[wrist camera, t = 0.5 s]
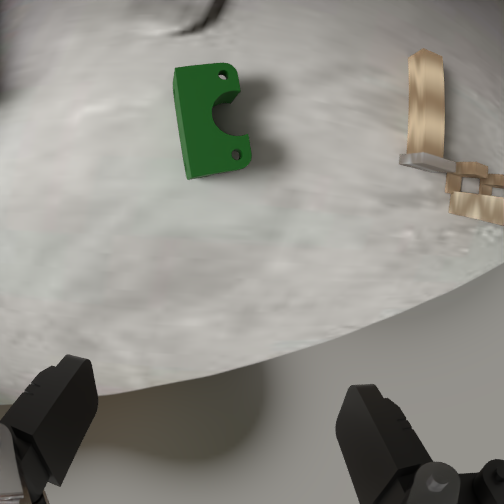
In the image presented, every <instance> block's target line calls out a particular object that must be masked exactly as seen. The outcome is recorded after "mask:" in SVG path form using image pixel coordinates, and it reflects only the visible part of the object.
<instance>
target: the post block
mask: <svg viewBox="0 0 504 504" xmlns="http://www.w3.org/2000/svg"><path fill="white" fill-rule="evenodd" d="M462 177H470V178H480V185H479V194H473V193H465V192H460V189H461V179H462ZM492 187H495V188H504V175H500V174H488V166H485V165H483V164H480V163H477V162H456V173H451V172H447V176H446V186H445V192H446V193H450V194H451V197H450V205H449V213H452V214H456V215H461V216H465V217H470V218H474V219H478V220H482V221H486V222H490V223H494V224H498V225H502V226H504V198H502V197H495V196H491V193H492Z"/></svg>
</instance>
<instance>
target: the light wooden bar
mask: <svg viewBox="0 0 504 504" xmlns="http://www.w3.org/2000/svg"><path fill="white" fill-rule="evenodd" d="M408 62H409V120H408V141H407V154H402V155H400V158H399V164H400V165H404V166H408V167H413V168H416V169H420V170H424V171H428V172H451V173H456V162H453V161H450V160H447V159H444V158H443V151H444V123H445V101H444V74H443V60H442V56H440V55H438V54H435V53H433V52H431V51H428V50H426V49H424V48H423V49H421V50H420V51H418V52H417V53H415V54H413V55H412V56H410V57H409V58H408Z"/></svg>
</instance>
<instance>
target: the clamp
mask: <svg viewBox="0 0 504 504" xmlns="http://www.w3.org/2000/svg"><path fill="white" fill-rule="evenodd" d="M218 75H224V76H225V77H226V80H222V79H220V78H219V76H218ZM240 91H241V90H240V85H239V79H238V73H237V71H236V69H235V68H234V67H233V66H232V65H230V64H228V63H213V64H203V65H193V66H185V67H178V68H175V72H174V79H173V94H174V102H175V109H176V116H177V122H178V129H179V136H180V142H181V148H182V154H183V160H184V166H185V172H186V176H187V179H188V180H190V179H195V178H201V177H206V176H209V175H212V174H217V173H223V172H229V171H235V170H239V169H243V168H245V167H246V166H247V165H248V164H249V163H250V161H251V157H252V154H251V148H250V142H249V136H248V134H246V135H242V136H232V135H228V134H226V133H224V132H222V131H221V130H220V129H219V128H218V127H217V126H216V124H215V123H214V121H213V118H212V108H213V107H214V106H216V105H218V104H222V103H231V102H232V101H233V100H234V99H235V97H236V96H237V95H238V94H239V93H240ZM232 151H237V152H238V153H239V159H238V160H235V159H233V158H232V155H231V154H232Z"/></svg>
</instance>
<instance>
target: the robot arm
mask: <svg viewBox="0 0 504 504" xmlns="http://www.w3.org/2000/svg"><path fill="white" fill-rule="evenodd" d="M97 408H98V394H97V390H96V385H95V379H94V374H93V368H92V364H91V361H90V360H89V359H85V358H81V357H77V356H73V355H69V354H68V355H66V356H65V357H64V358H63V359H62V360H61V361H60V362H59V364H58V365H57V366H56V367H55V366H50V367H49V368H47V369H45V370H43V371H42V372H40V373H39V374H38V375H37V376H36V377H35V378H34V380H33V381H32V382H31V385H30V384H29V386H28V387H27V388H26V389H25V392H24V393H22V394H21V395H20V396H19V398H18V399H17V400H16V401H15V403H14V404H13V405H12V406H11V408H10V409H9V410H8V412H7V413H6V414H5V416H4V417H3V418H2V419H1V420H0V504H50V503H49V500H48V498H47V495H46V492H45V490H44V488H45V486H46V483H47V482H50V483H52V484H54V485H57V486H59V487H60V486H61V484H62V482H63V480H64V478H65V476H66V474H67V471H68V469H69V467H70V465H71V463H72V461H73V459H74V457H75V454H76V452H77V450H78V448H79V446H80V444H81V442H82V440H83V438H84V436H85V434H86V432H87V430H88V428H89V426H90V424H91V422H92V420H93V418H94V417H95V414H96V412H97ZM336 437H337V440H338V442H339V445H340V448H341V451H342V454H343V457H344V460H345V462H346V465H347V468H348V471H349V474H350V477H351V479H352V482H353V485H354V488H355V491H356V494H357V497H358V500H359V503H360V504H504V460H500V459H495V460H491V461H489V462H488V463H487V464H486V465H485V466H484V467H483V468H482V470H481V471H480V472H479V473H466V474H458V473H457V472H456V470H455V469H454V468H453V467H451V466H450V465H447V464H445V463H442V462H433V460H432V459H431V457H430V456H429V454H428V452H427V451H426V449H425V447H424V446H423V444H422V443H421V441H420V439H419V438H418V436H417V435H416V433H415V431H414V430H413V429H412V427H411V425H410V423H409V422H408V420H406V417H405V416H404V414H403V412H402V411H401V409H400V407H398V406H397V405H396V404H394V402H392V401H391V400H390V399H388V398H383V396H382V395H381V393H380V391H379V390H378V388H377V387H376V386H375V385H374V384H366V385H351V386H350V387H349V389H348V391H347V393H346V396H345V399H344V402H343V405H342V407H341V410H340V413H339V415H338V418H337V421H336Z"/></svg>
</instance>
